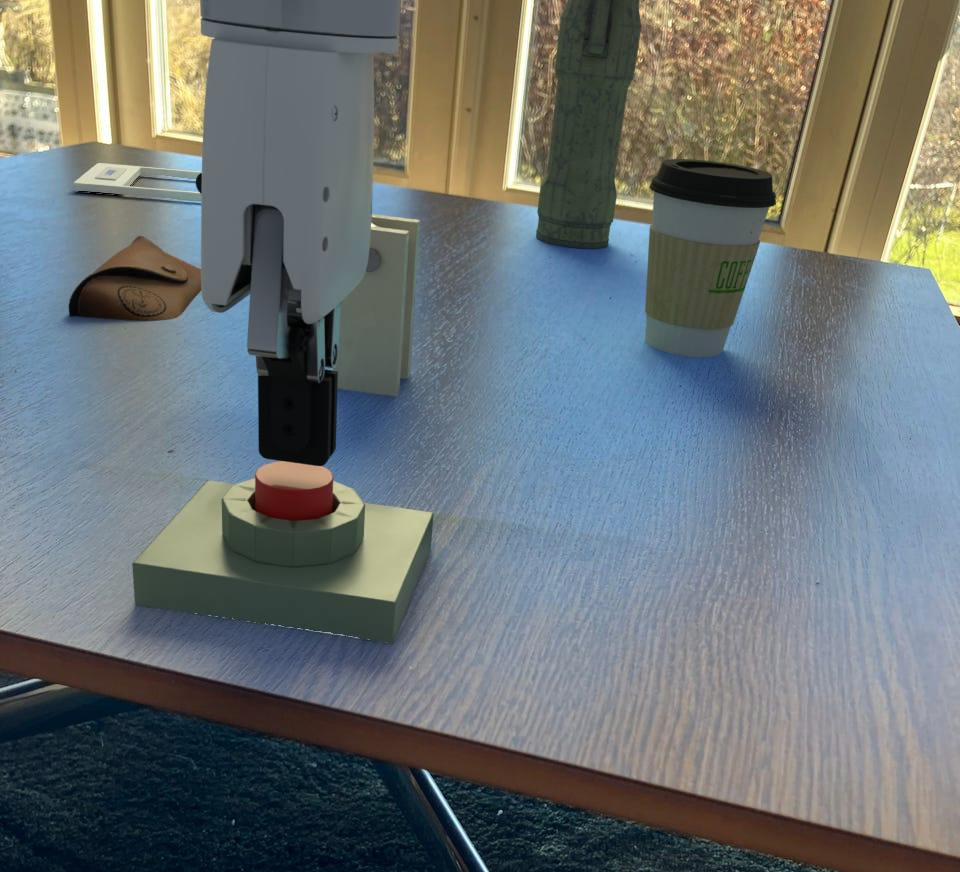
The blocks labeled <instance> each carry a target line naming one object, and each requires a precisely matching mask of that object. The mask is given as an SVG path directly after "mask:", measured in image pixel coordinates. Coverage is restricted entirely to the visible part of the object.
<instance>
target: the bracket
mask: <svg viewBox="0 0 960 872" xmlns="http://www.w3.org/2000/svg"><path fill="white" fill-rule="evenodd" d="M371 223H373V224H375V225H377V226H379V227H373V226H371V235H370V247H369V256H368V263H367V268H366V272H365V274H364V277H363V279H362V280H361V282H360V283H359V284H358V285H357V286H356V287H355V288H354V289H353V290H352V291H351V292H350V293H349V295H348V296H347V297H346V298H345V299H343V300H342V301H341V314H340V330H339V347H338V359H337V363H336V366H335V368H332V370H333V371H338V387H337V390H344V391H352V392H359V393H367V394H374V395H381V396H388V397H394V398H395V397H398V395H399V394H400V391H401V389H400V387H401V379H403V380H404V379H405V380H408V379H409V378H410V377H411V368H412V355H413V342H414V341H413V339H414V326H415V325H414V324H415V308H416V295H417V294H416V293H417V278H418V265H419V247H420V234H421V233H420V232H421V219H416V218H407V217H400V216H392V215H384V214H375V213H372V220H371Z"/></svg>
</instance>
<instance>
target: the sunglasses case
mask: <svg viewBox="0 0 960 872" xmlns="http://www.w3.org/2000/svg"><path fill="white" fill-rule="evenodd" d="M199 293H201V267H200V268H199V267H197V266H196V265H193V264H191V263H188V262H187V261H184V260H183V259H181V258H179V257H176V256H175V255H174V256H173V255H172V254H169V252H165V251H164V250H163V249H162V248H161V247H159V246H158V245H156V244H155V243H154V242H153V241H152V240H150V239H149V238H147V237H145V236H143V235H137V236H136V237H135V238H134V239H133V240H132V242H131V243H130V244H129V245H128V246H126V247H125V248H122V249H121V250H119V251H118V252H117V253H116V254H114V255H112V256H111V257H110V258H109V259H108V260H106V261H105V262H104V263H102V264H101V265H100V266H99V267H98V268H96V270H94V271H93V272H92V273H90V274H89V275H88V276H86V277H85V278H84V279H82V280H81V281H80V282H79V283H78V285H77V286H75V288H74V291H73V292H72V293H71V295H70V298H69V301H68V315H69V317H79V318H90V319H105V320H119V321H133V322H136V321H137V322H157V321H158V322H159V321H168V320H174V319H177V318H179V317H180V316H182V315H183V313H184V312H185V311H186V309H187V308H188V307H189V306H190V304H191V303H192V302H193V301H194V300H195V298H196V297H197V296H198V295H199Z"/></svg>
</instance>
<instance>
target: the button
mask: <svg viewBox="0 0 960 872" xmlns="http://www.w3.org/2000/svg"><path fill="white" fill-rule="evenodd" d="M254 478H255V509H256V511H257V512H259V513H261V514H263V515H265V516H267V517H270V518H276V519H283V520H290V521H300V520H313V519H319V518H321V517H324V516H326V515H329V514H331V513H332V505H333V481H334V475H333V473H332V471H331V470H330V469H329V468H326V467H325V466H324V465H323V466H314V465H307V464H299V463H292V462H285V461H272V462H269V463H266V464H263V465H261V466H260V467H259V468H257V469H256V471H255V474H254Z"/></svg>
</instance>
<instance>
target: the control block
mask: <svg viewBox="0 0 960 872" xmlns="http://www.w3.org/2000/svg"><path fill="white" fill-rule="evenodd" d="M434 516H435V514H434V512H432V511H425V510H417V509H411V508H406V507H405V508H404V507H397V506H391V505H390V506H389V505H383V504H376V503H370V502H369V503H368V502H365V501H363V499H362V498H361V497H360V495H359V494H358V493H357V491H356V490H355V489H354V488H353V487H350V486H347V485H345V484H343V483H340V482H338V481H335V480H333V505H332V513H331V514H329V515H326V516H324V517H321V518H319V519H313V520H300V521H290V520H283V519H276V518H270V517H267V516H265V515H263V514H261V513H259V512H257V511H256V509H255V477H252V478H249V479H247V480H244V481H241V482H238V483H231V482H224V481H217V480H210V479H208V480H206V482H204V484H203V485H202V486H200V488H199V489H198V490H197V492H195V494H194V495H193V496H192V497H191V498H190V499H189V500H188V501H187V502H186V503H185V504H184V506H183V507H182V508H181V509H180V510H179V511H178V513H176V514H175V516H173V518H172V519H170V521H169V522H168V523H167V524H166V525H165V526H164V528H163V529H162V530H161V531H160V532H159V533H158V534H157V535H156V536H155V538H153V540H152V541H150V543H149V544H148V545H147V546H146V547H145V549H143V551H141V553H140V554H139V555H138V556H137V557H136V558H135V559H134V561H132V565H131V566H132V580H133V593H134V594H133V595H134V596H133V597H134V605H135V606H137V605H141V606H140V607H144V606H147V607H146V608H150V607H153V608H152V609H157V608H160V609H159V610H163V611H170V610H172V611H171V612H177V611H179V612H178V613H183V612H186V613H185V614H190V613H192V614H191V615H195V614H194V613H197V614H204V615H207V616H206V617H209V616H208V615H211V616H218V617H221V618H220V619H222V617H225V618H228V619H227V620H229V619H232V618H233V619H235V620H234V621H236V620H242V621H250V622H252V623H251V624H255V623H254V622H256V623H260V624H259V625H262V624H265V623H266V624H268V625H271V624H274V625H276V626H278V625H281V626H284V627H293V628H295V629H297V628H301V629H303V630H305V629H309V630H313V631H322V632H331V633H333V634H343V635H345V636H346V635H347V636H353V637H358V638H360V639H366V640H365V641H367V639H370V640H373V641H376V642H375V643H380V642H387V643H390V644H389V645H393V644H394V643H395V641H396V638H397V635H398V632H399V631H400V628H401V626H402V623H403V620H404V619H405V615H406V613H407V610H408V608H409V606H410V603H411V600H412V598H413V596H414V592H415V590H416V588H417V585H418V583H419V581H420V578H421V576H422V573H423V571H424V568H425V565H426V563H427V561H428V558H429V555H430V553H431V551H432V550H431V549H432V540H433V539H432V538H433V527H434ZM164 609H166V610H164ZM242 621H241V622H242ZM268 625H267V626H268ZM295 629H294V630H295ZM360 639H359V640H360ZM373 641H372V642H373ZM379 641H380V642H379Z"/></svg>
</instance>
